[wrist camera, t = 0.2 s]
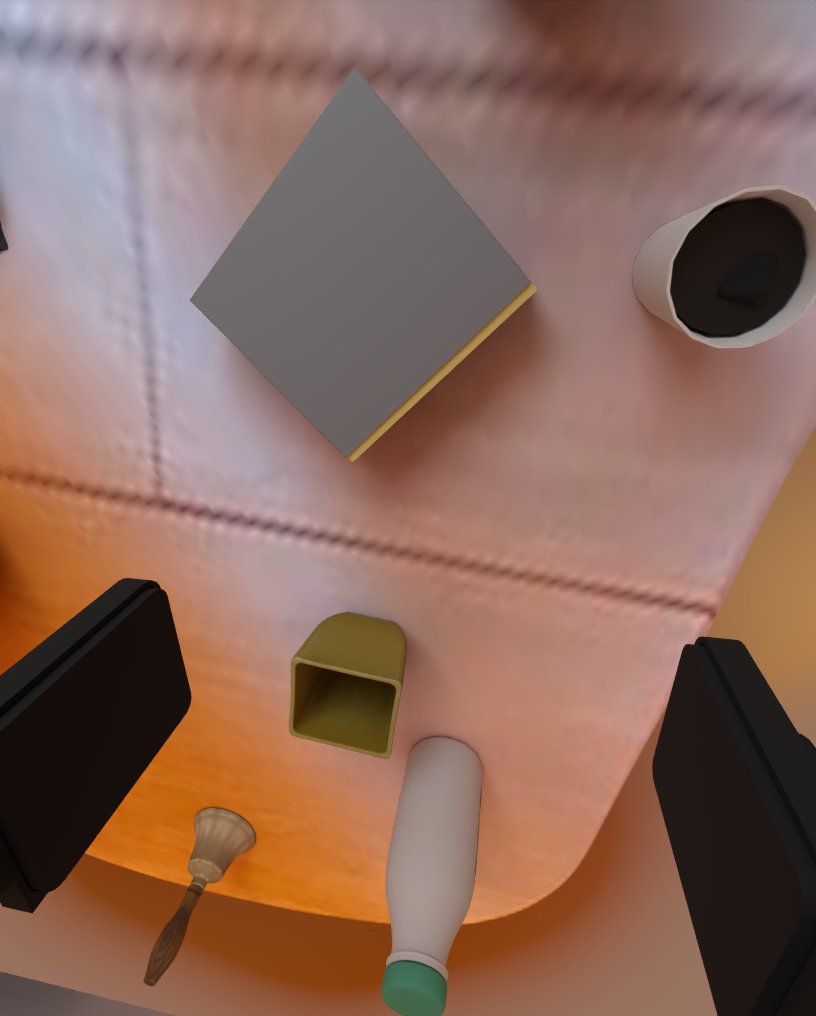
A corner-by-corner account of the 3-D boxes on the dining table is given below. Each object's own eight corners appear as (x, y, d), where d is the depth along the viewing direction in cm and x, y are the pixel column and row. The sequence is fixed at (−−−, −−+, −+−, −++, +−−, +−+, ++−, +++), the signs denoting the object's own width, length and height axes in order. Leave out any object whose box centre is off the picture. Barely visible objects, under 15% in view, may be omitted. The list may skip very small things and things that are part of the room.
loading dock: (377, 95, 31) (354, 67, 27) (534, 286, 34) (537, 290, 29) (227, 295, 38) (189, 300, 33) (369, 441, 40) (351, 463, 36)
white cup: (763, 215, 30) (867, 195, 21) (716, 333, 33) (791, 360, 24) (645, 199, 31) (698, 173, 22) (610, 317, 34) (645, 337, 25)
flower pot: (409, 682, 50) (389, 762, 42) (322, 662, 51) (287, 736, 43) (421, 610, 46) (402, 683, 38) (328, 590, 47) (290, 656, 39)
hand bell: (268, 844, 66) (202, 1002, 52) (220, 853, 69) (145, 1005, 55) (230, 801, 64) (150, 955, 50) (183, 812, 67) (94, 961, 53)
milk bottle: (395, 743, 54) (338, 977, 37) (461, 726, 52) (434, 971, 34) (430, 792, 57) (392, 1035, 39) (495, 778, 54) (486, 1033, 36)
